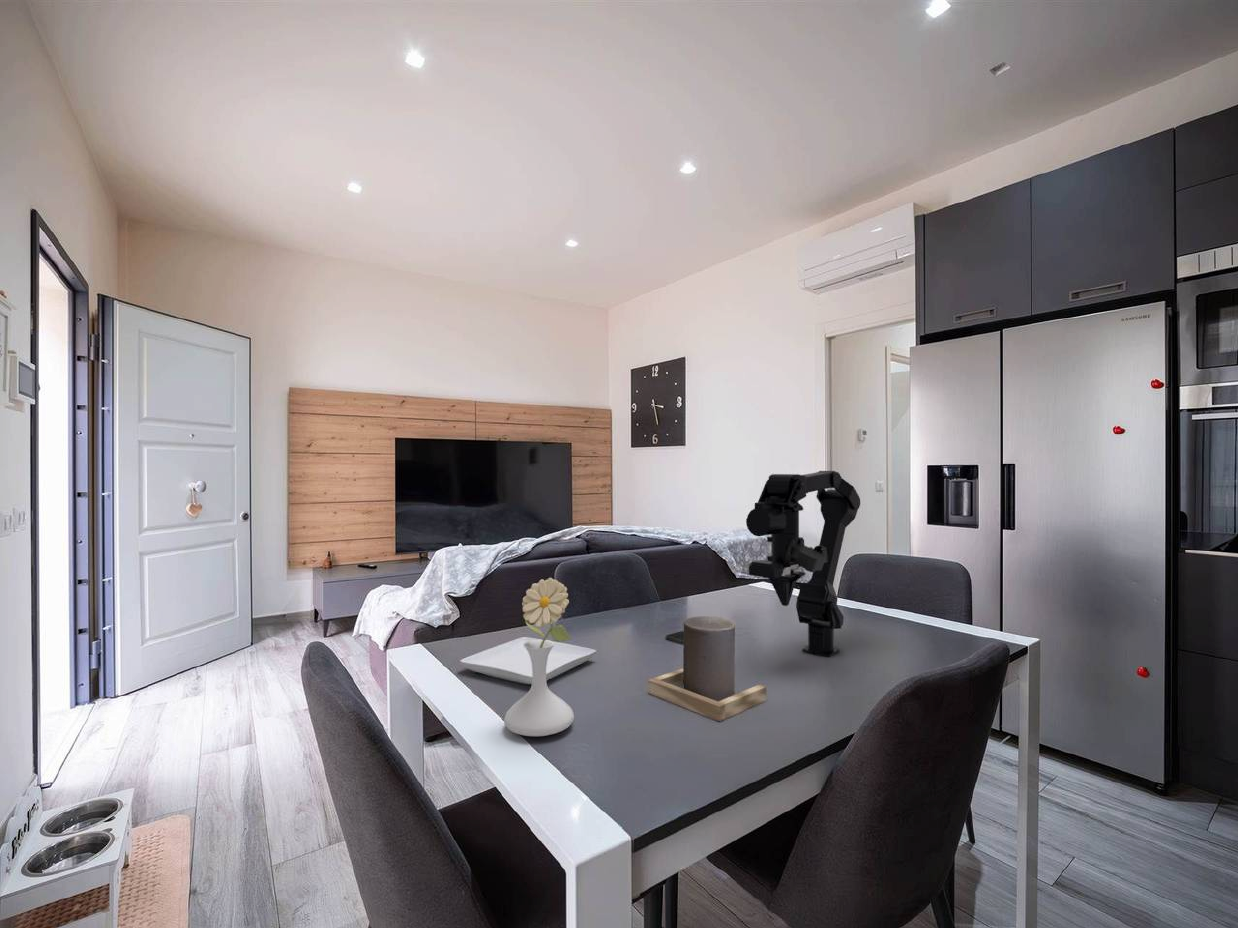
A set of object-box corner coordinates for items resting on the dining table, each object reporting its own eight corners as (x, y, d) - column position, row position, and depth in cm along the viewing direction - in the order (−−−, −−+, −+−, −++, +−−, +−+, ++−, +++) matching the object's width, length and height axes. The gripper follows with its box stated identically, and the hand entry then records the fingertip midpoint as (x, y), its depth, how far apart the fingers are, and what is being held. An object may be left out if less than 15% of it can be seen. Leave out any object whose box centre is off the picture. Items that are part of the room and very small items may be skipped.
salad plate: (523, 648, 142) (523, 634, 142) (598, 663, 131) (598, 648, 131) (456, 675, 124) (456, 659, 124) (537, 695, 113) (537, 677, 113)
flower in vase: (490, 727, 98) (490, 575, 98) (545, 708, 106) (545, 567, 106) (538, 755, 89) (538, 586, 89) (595, 731, 97) (594, 576, 97)
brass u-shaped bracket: (695, 676, 122) (695, 663, 122) (766, 700, 109) (766, 686, 109) (648, 692, 113) (648, 679, 113) (719, 721, 100) (719, 706, 100)
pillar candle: (672, 694, 112) (672, 615, 112) (705, 681, 119) (706, 606, 119) (712, 711, 105) (713, 625, 105) (746, 696, 111) (746, 616, 111)
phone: (684, 630, 154) (731, 642, 143) (684, 634, 154) (731, 647, 143) (663, 636, 148) (711, 649, 137) (663, 640, 148) (711, 654, 137)
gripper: (794, 539, 116) (794, 620, 116) (842, 532, 128) (842, 605, 128) (746, 534, 124) (746, 609, 124) (796, 528, 137) (796, 596, 136)
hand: (785, 605), depth 128 cm, fingers closed
